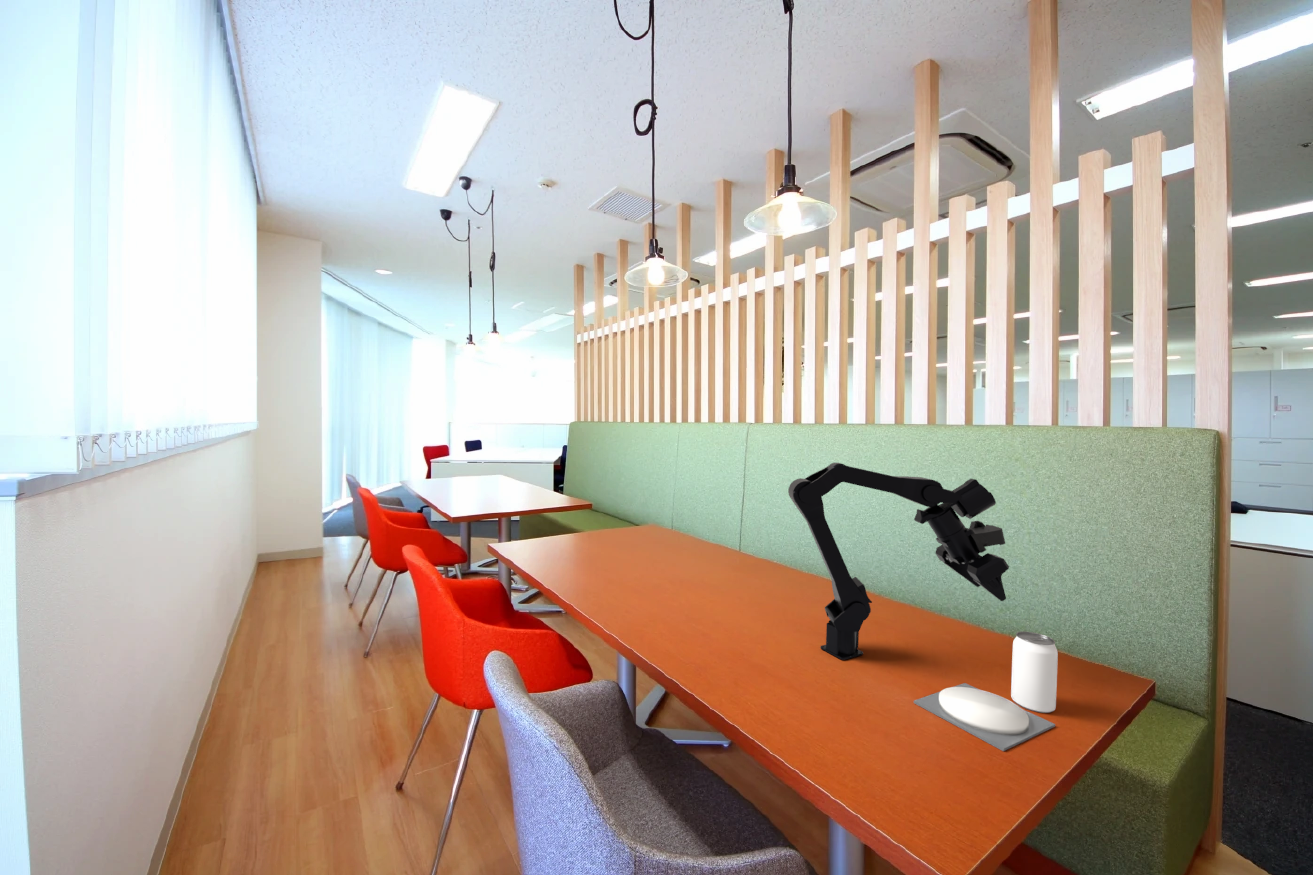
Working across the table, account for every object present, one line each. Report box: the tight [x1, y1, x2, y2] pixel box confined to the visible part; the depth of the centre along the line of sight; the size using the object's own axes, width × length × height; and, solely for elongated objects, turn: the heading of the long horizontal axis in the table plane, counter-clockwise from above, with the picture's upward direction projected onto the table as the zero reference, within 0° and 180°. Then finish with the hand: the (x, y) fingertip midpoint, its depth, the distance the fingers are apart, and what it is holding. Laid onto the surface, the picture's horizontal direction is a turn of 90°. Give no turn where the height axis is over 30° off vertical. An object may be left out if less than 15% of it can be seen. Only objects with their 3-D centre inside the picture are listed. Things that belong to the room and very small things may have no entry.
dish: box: [913, 682, 1056, 752], centre depth 87 cm, size 15×15×1 cm
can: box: [1010, 630, 1059, 714], centre depth 91 cm, size 6×6×12 cm
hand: (990, 592), depth 108 cm, fingers open, 9 cm apart
